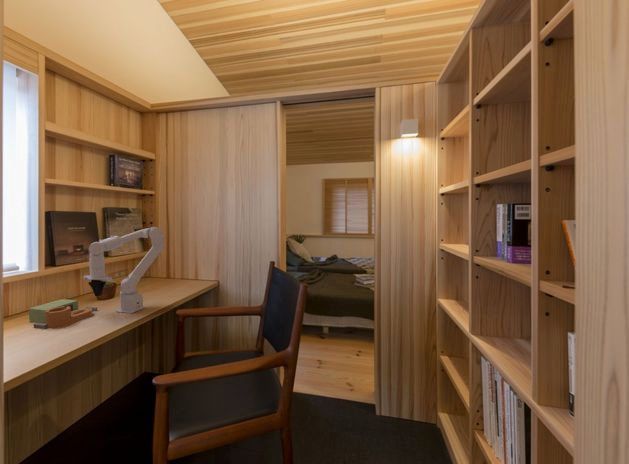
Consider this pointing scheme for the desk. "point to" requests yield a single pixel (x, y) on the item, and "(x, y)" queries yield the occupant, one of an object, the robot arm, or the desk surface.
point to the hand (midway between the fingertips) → (98, 295)
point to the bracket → (65, 316)
